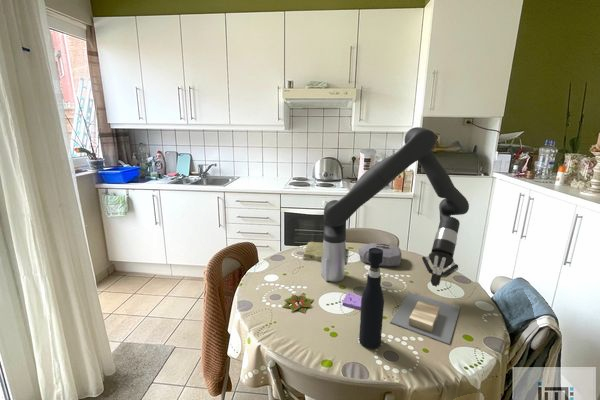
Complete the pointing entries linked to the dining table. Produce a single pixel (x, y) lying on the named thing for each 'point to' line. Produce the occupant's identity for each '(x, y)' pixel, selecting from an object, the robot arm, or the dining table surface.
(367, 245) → the small grey backpack
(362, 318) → the black water bottle
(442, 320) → the rubber mat
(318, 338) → the dining table surface
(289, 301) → the green leafy rosette
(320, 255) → the decorative tile
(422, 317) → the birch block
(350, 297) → the sponges
